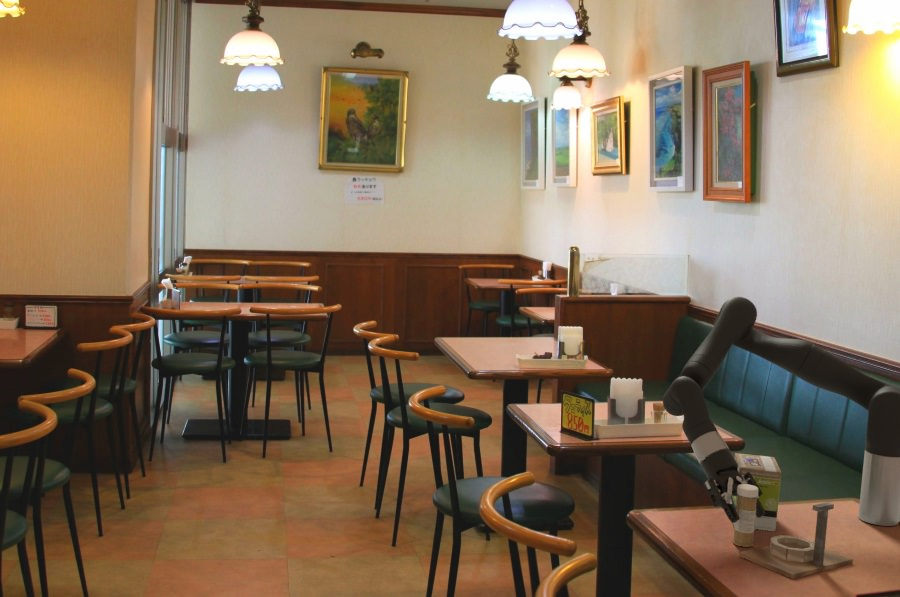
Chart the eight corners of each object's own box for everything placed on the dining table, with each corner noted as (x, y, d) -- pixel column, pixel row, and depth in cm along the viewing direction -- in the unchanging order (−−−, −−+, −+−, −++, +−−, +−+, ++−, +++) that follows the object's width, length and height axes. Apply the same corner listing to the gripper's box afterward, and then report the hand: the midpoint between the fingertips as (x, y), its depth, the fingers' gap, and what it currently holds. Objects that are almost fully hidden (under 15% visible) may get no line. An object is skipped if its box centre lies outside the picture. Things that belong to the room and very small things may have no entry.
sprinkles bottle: (734, 539, 230) (739, 482, 228) (755, 543, 228) (760, 485, 226) (731, 545, 226) (735, 487, 224) (752, 549, 224) (757, 490, 222)
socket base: (798, 542, 230) (804, 483, 228) (852, 563, 218) (858, 500, 217) (739, 556, 219) (744, 493, 217) (792, 579, 207) (798, 513, 206)
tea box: (777, 532, 236) (782, 471, 235) (732, 527, 238) (738, 466, 237) (770, 513, 251) (775, 455, 249) (728, 508, 253) (733, 451, 251)
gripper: (725, 460, 240) (759, 522, 232) (683, 467, 232) (717, 530, 224) (744, 444, 235) (780, 506, 227) (702, 450, 227) (737, 514, 219)
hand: (749, 518), depth 225 cm, fingers open, 8 cm apart
